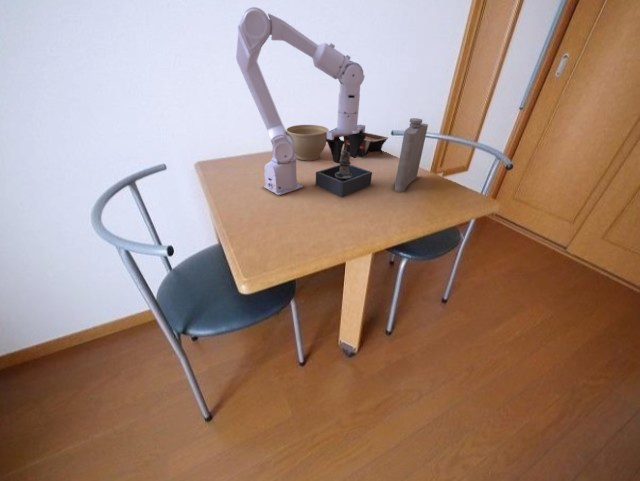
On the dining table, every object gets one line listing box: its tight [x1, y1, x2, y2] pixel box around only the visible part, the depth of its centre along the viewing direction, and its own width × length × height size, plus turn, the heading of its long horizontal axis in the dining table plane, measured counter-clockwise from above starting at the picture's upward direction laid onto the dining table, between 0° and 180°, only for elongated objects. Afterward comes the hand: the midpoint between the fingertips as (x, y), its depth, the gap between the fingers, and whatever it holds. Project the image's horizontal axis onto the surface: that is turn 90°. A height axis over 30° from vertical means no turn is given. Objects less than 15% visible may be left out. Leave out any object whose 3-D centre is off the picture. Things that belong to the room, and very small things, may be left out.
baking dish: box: [342, 131, 389, 158], centre depth 120 cm, size 14×18×10 cm
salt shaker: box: [335, 148, 353, 181], centre depth 89 cm, size 6×6×12 cm
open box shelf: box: [315, 164, 373, 198], centre depth 91 cm, size 14×12×4 cm
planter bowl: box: [285, 124, 330, 161], centre depth 112 cm, size 16×16×11 cm
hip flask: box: [393, 117, 429, 193], centre depth 89 cm, size 16×4×20 cm, turn 148°
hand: (344, 159), depth 88 cm, fingers open, 7 cm apart
